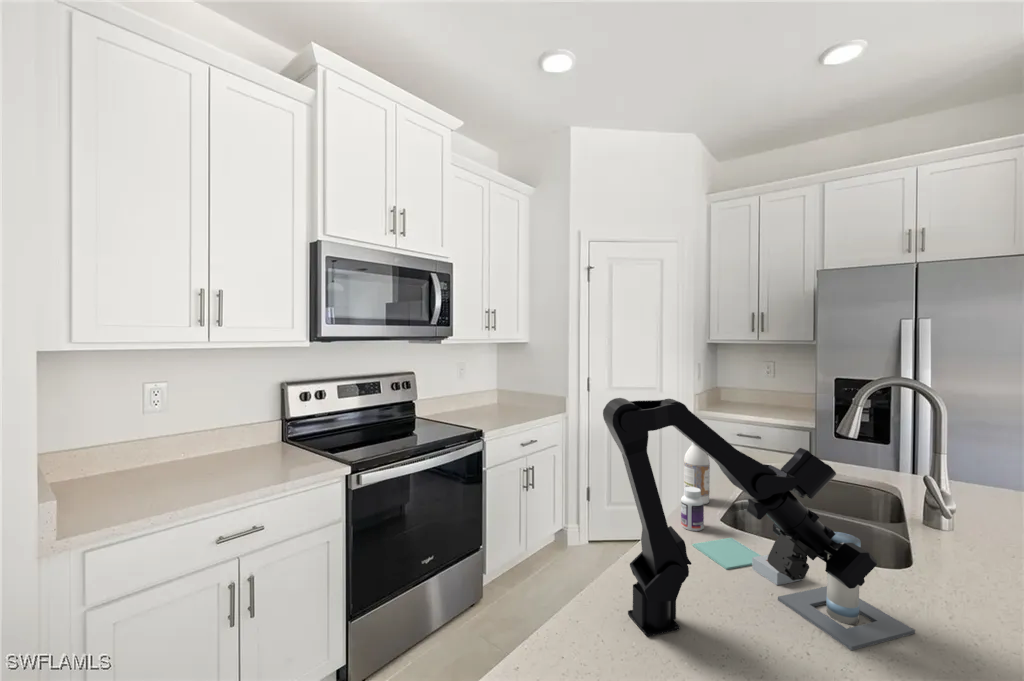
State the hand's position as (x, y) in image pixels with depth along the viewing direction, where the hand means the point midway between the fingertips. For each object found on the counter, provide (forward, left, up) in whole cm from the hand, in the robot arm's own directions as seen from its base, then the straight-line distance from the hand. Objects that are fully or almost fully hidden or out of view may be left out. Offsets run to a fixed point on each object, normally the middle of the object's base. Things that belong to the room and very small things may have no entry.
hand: (850, 576), depth 81 cm
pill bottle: (-3, +38, -7) cm, 39 cm away
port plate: (-1, 0, -7) cm, 7 cm away
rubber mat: (-4, +24, -7) cm, 26 cm away
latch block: (-1, +14, -7) cm, 16 cm away
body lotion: (+9, +53, -7) cm, 54 cm away
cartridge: (-1, 0, -7) cm, 7 cm away
